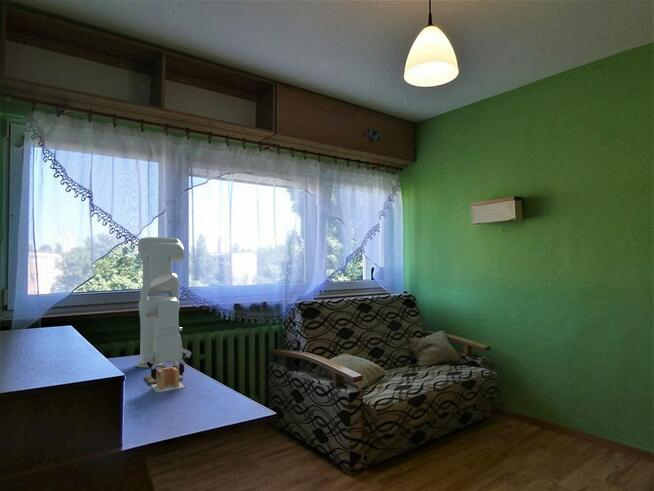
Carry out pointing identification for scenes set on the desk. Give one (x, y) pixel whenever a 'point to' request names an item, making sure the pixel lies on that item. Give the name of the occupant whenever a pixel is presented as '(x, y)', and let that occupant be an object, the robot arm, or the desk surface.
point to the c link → (167, 377)
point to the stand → (152, 381)
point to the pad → (167, 387)
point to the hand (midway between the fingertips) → (167, 376)
